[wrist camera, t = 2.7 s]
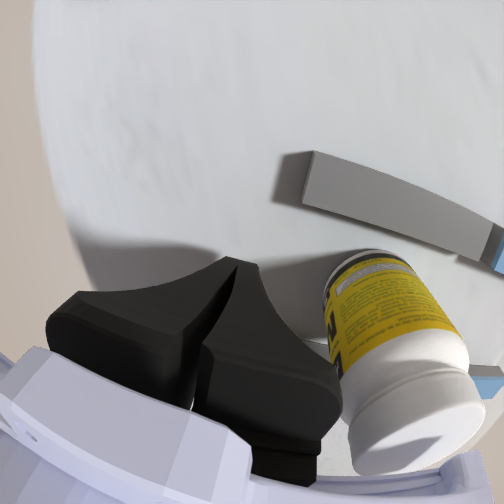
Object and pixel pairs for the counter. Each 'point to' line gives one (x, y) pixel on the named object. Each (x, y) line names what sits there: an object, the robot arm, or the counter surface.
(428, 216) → the grey and blue rails
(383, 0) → the counter surface
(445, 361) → the supplement bottle
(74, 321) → the robot arm
